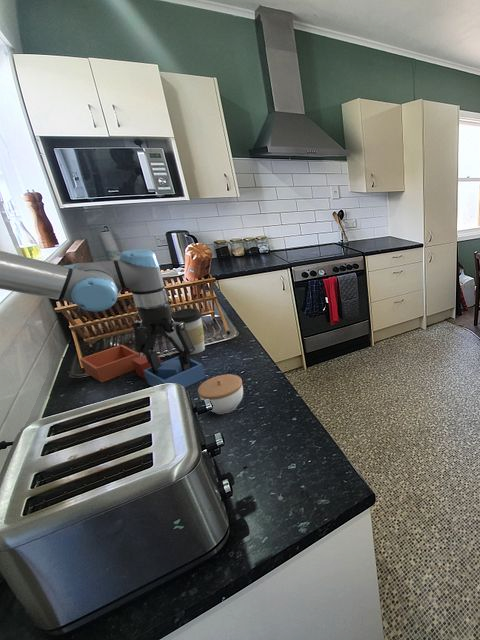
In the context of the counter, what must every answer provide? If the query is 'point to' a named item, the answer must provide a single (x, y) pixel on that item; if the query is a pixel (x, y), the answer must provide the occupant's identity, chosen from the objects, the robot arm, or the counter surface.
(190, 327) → the coffee cup
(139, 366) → the rust block
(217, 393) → the trinket box
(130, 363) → the rust bin
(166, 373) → the blue block
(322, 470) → the counter surface
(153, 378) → the blue bin
